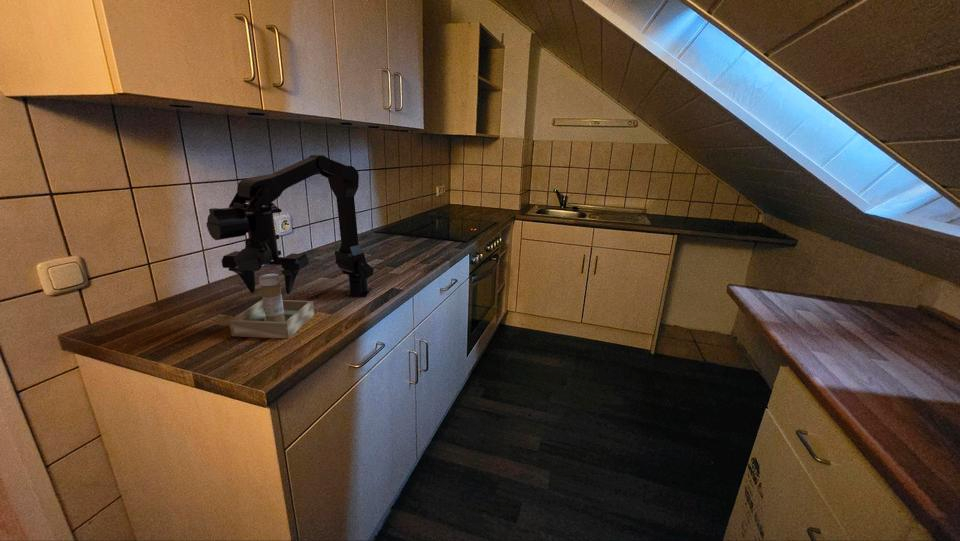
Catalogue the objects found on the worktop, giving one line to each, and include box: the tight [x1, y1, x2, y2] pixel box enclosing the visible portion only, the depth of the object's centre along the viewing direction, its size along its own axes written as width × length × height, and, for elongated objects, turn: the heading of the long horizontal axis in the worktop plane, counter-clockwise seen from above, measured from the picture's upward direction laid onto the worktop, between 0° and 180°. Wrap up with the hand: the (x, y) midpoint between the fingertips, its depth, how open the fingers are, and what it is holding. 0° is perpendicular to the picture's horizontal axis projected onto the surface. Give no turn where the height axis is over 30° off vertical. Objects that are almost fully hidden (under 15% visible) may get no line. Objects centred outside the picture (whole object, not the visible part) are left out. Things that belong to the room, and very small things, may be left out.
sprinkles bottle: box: [258, 273, 287, 322], centre depth 96 cm, size 5×5×14 cm
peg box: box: [228, 298, 315, 339], centre depth 97 cm, size 14×14×4 cm
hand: (270, 293), depth 95 cm, fingers open, 9 cm apart
